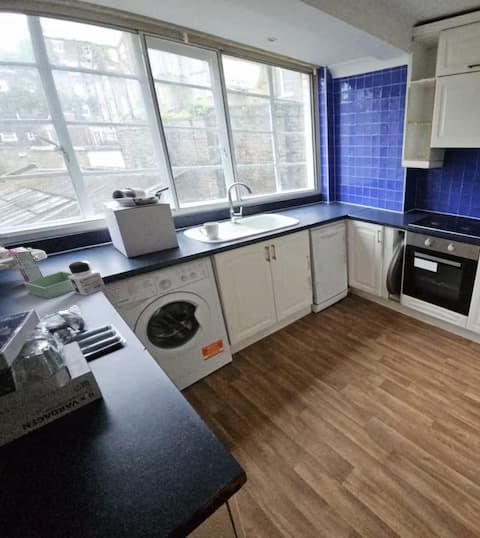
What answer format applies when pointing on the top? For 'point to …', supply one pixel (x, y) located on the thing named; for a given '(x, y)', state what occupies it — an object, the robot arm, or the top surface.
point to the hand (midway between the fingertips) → (24, 262)
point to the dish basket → (50, 285)
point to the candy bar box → (25, 263)
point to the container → (84, 278)
